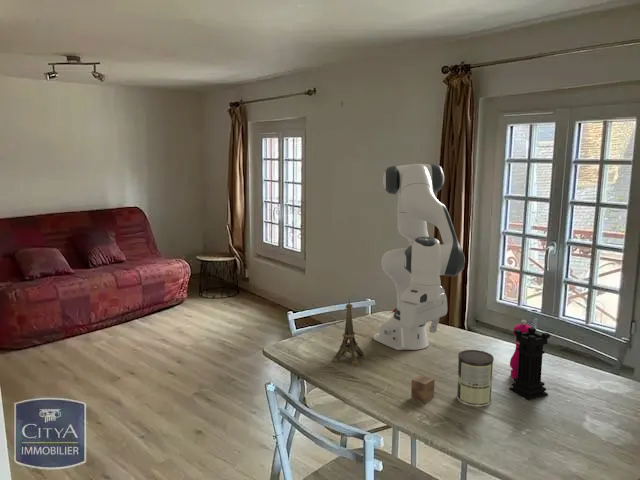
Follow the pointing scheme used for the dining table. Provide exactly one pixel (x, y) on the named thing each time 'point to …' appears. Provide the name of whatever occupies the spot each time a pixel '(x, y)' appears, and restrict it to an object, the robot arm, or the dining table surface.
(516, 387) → the chess piece
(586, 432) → the dining table surface
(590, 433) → the dining table surface
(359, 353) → the eiffel tower
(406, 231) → the robot arm
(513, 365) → the pepper mill
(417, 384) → the walnut block
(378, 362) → the dining table surface
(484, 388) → the coffee can
